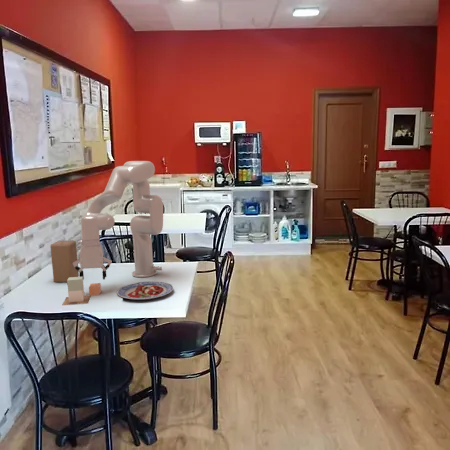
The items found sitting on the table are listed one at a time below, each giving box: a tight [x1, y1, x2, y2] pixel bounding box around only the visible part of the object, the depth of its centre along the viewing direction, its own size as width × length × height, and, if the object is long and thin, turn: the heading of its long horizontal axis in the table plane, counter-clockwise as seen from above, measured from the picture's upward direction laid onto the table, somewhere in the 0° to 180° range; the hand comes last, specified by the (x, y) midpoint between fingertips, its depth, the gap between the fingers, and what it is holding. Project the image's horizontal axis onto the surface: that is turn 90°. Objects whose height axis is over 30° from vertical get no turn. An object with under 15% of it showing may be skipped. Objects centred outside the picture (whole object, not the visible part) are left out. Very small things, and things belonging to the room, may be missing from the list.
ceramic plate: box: [116, 280, 174, 301], centre depth 222 cm, size 26×26×3 cm
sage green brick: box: [66, 276, 85, 292], centre depth 211 cm, size 6×4×5 cm
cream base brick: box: [67, 288, 85, 302], centre depth 212 cm, size 6×4×5 cm
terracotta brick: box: [88, 282, 102, 296], centre depth 222 cm, size 6×4×5 cm
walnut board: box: [62, 295, 92, 306], centre depth 212 cm, size 11×11×1 cm
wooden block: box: [50, 240, 80, 283], centre depth 247 cm, size 10×10×20 cm
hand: (93, 279), depth 220 cm, fingers open, 9 cm apart
